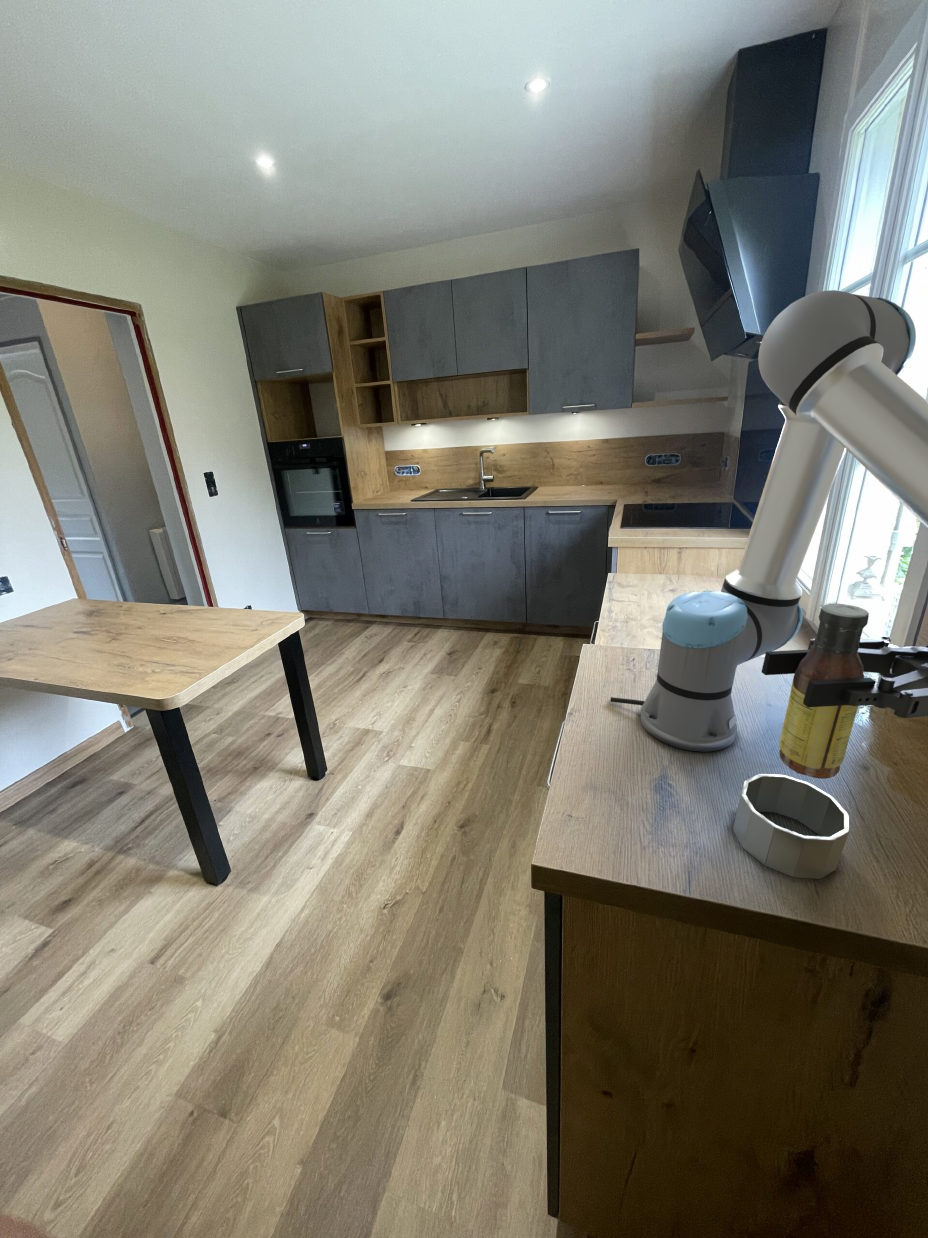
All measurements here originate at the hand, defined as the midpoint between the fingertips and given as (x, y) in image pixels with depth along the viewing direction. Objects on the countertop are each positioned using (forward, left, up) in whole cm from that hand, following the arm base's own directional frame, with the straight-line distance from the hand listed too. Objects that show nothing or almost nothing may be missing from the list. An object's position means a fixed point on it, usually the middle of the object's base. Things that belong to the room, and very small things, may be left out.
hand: (786, 677), depth 53 cm
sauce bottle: (+4, +3, -12) cm, 13 cm away
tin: (+4, +3, -24) cm, 24 cm away
